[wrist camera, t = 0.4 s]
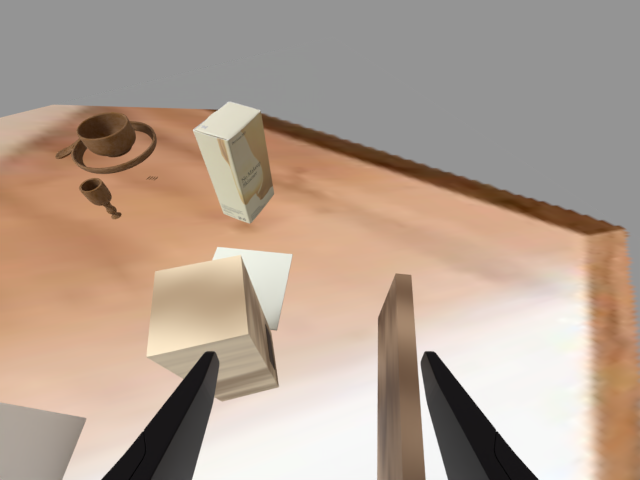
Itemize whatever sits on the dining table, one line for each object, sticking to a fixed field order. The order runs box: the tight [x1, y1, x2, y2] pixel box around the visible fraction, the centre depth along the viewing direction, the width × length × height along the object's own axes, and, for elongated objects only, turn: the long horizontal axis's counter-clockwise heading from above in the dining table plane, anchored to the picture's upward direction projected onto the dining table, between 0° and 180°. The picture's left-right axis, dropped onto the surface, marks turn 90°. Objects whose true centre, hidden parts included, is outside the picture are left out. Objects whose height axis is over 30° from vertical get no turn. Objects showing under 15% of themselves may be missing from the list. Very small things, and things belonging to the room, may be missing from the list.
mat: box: [212, 247, 293, 331], centre depth 33 cm, size 9×9×1 cm
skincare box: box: [193, 102, 274, 223], centre depth 35 cm, size 6×4×12 cm
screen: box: [377, 273, 426, 480], centre depth 22 cm, size 16×1×9 cm, turn 173°
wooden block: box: [146, 255, 279, 402], centre depth 22 cm, size 5×5×14 cm
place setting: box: [55, 112, 158, 219], centre depth 42 cm, size 18×20×6 cm
